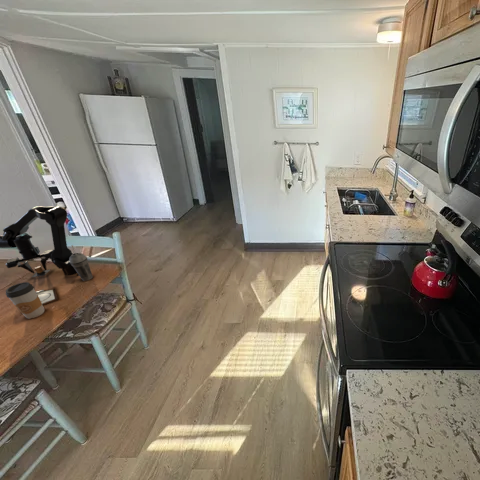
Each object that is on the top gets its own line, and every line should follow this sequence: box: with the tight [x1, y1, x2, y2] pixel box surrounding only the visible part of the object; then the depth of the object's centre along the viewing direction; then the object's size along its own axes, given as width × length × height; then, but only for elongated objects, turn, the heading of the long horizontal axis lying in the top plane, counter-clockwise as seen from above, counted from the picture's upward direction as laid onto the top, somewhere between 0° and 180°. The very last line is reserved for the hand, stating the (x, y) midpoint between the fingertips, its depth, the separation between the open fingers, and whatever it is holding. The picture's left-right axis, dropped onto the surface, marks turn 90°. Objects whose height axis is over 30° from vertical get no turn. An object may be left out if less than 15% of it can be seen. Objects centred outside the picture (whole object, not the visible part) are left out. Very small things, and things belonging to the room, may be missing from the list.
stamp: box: [33, 265, 45, 275], centre depth 147 cm, size 3×3×4 cm
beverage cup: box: [68, 244, 94, 282], centre depth 140 cm, size 7×7×20 cm
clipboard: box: [36, 288, 59, 306], centre depth 129 cm, size 12×14×1 cm
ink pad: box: [31, 269, 51, 278], centre depth 148 cm, size 7×7×1 cm
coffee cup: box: [5, 281, 45, 320], centre depth 117 cm, size 8×8×15 cm
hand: (40, 271), depth 147 cm, fingers open, 5 cm apart
